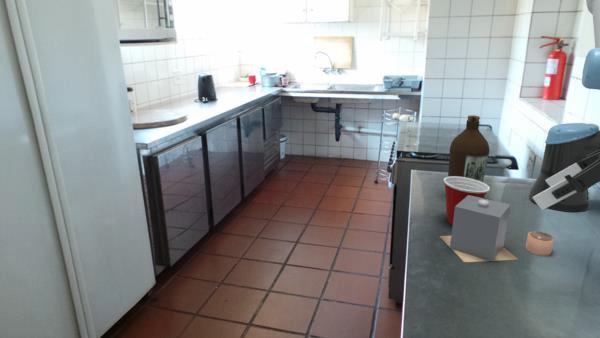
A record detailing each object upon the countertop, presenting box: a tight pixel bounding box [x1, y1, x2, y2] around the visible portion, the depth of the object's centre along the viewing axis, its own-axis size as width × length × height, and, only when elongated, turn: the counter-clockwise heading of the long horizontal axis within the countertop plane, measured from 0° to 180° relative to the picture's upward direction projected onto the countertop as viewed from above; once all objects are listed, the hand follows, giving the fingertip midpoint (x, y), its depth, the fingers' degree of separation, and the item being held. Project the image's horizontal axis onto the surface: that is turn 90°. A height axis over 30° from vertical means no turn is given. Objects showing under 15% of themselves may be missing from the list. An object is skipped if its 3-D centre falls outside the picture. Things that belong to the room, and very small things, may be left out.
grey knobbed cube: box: [449, 195, 511, 262], centre depth 90 cm, size 9×9×11 cm
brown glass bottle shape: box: [447, 114, 490, 183], centre depth 120 cm, size 11×11×25 cm
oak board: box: [439, 235, 519, 263], centre depth 92 cm, size 12×12×1 cm
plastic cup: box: [443, 176, 491, 226], centre depth 103 cm, size 11×11×12 cm
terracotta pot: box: [525, 230, 555, 257], centre depth 90 cm, size 5×5×5 cm
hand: (543, 194), depth 81 cm, fingers open, 13 cm apart
